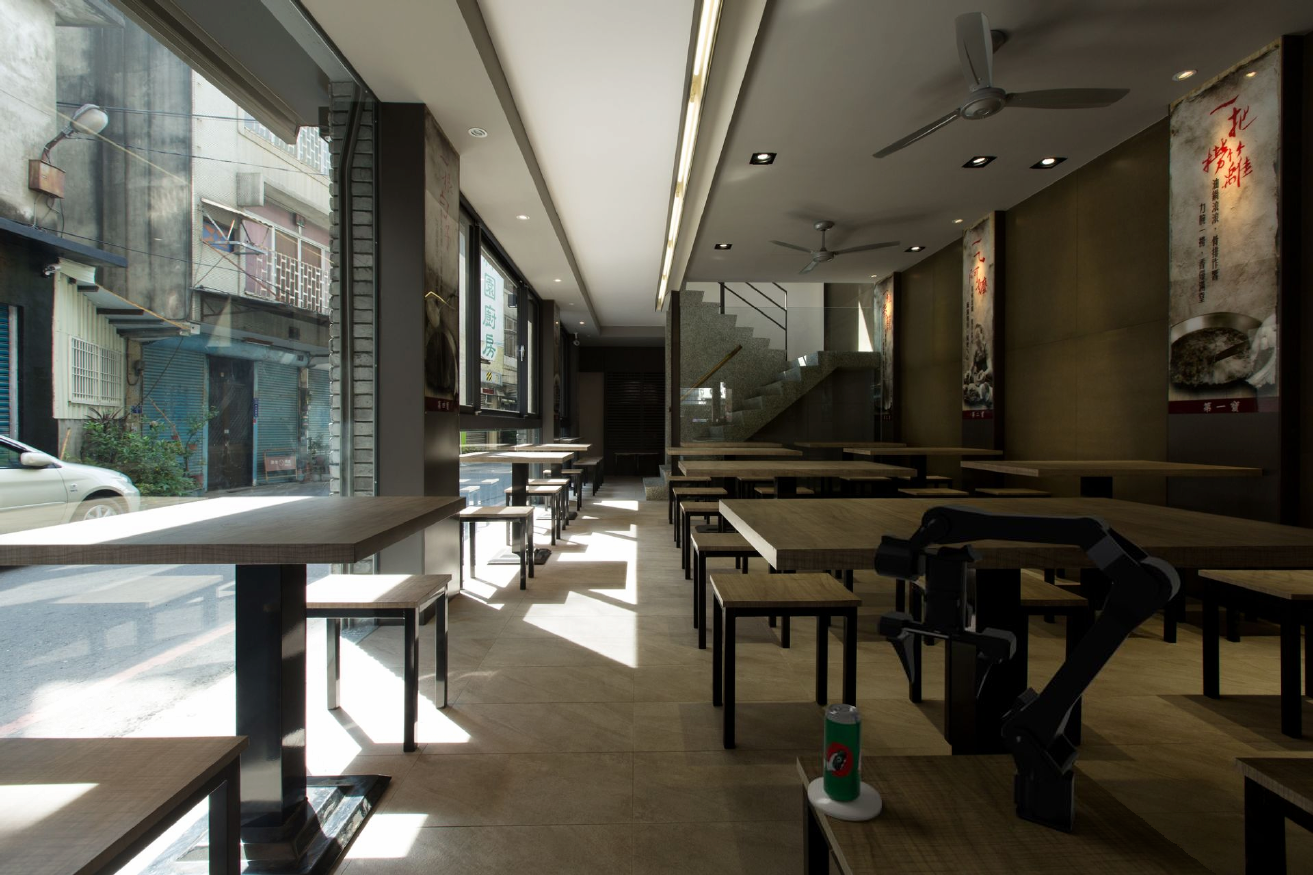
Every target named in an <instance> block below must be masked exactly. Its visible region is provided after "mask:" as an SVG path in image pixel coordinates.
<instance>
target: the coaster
mask: <svg viewBox="0 0 1313 875" xmlns="http://www.w3.org/2000/svg"><path fill="white" fill-rule="evenodd" d="M807 798H808V800H809V802H810V804H811V805H812V806H813V807H814V808H815V809H816V810H818V811H819V812H821V813H823V814H825V815H827V816H829V817H832V818H835V819H839V820H843V821H851V822H862V821H869V820H871V819H874V818H876V817H877V816H878V815H880V813H881V812H882V807H883V805H882V803H883V800H882V797H881V795H880V793H879V792H878V791H877V789H875V788H874V787H873V786H871V785H869V784H868V783H867V782H864V781H861V787H860V796H859V797H858V798H857V799H856V800H854V801H852V802H840V801H836V800H834V799H832V798H830V797H829V796H828V795H827V794H826V792H825V791H824V789H823V776H822V777H817V778H816V779H814V780H812V781H811V782H810V784H808V787H807Z"/></svg>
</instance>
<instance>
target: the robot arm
mask: <svg viewBox="0 0 1313 875" xmlns="http://www.w3.org/2000/svg"><path fill="white" fill-rule="evenodd" d="M920 523H921V524H920V526H919V527H918V528H917V530H916V531H915V532H914V533H913V535H911V536H910V537H902V536H899V535H896V534H889V533H887V534H882V535H881V540H880V543H879V545H878V547H877V549H876V551H875V555H874V556H873V566H874V571H875V573H876V574H877V575H878V577H879V576H880V577H884V578H885V577H886V578H890V579H896V580H901V581H906V582H912V583H916V582H917V581H919V579H920V577H924V576H925V577H924V578H925V579H924V594H922V595H923V612H924V614H923V615H924V616H923V618H924V619H923V621H922V622H921V621H915V620H914V617H913V615H912V613H908V612H907V613H906V612H901V611H896V610H889V611H887V612H886V613H885V614H882V616H879V618H877V619H878V620H877V623H876V624H877V626H876V634H877V635H879V636H884V637H885V642H887V643H890V644H891V645H892V648H894V649H893V650H894V651H895V652H896V654H897V656H898V659H899V661H900V662H901V666H902V668H903V670H904V673H905V674H906V677H907V680H908V682H909V683H910V684H913V683H914V682H915V656H914V655H915V654H914V641H915V640H914V639H915V635H918V636H924V637H928V638H929V637H930V638H934V639H940V640H945V641H950V642H955V643H960V644H965V645H972V646H977V647H978V650H979V652H980V653H979V654H978V655H977V656H976V660H975V661H976V662H975V670H974V679H973V690H972V691H973V698H974V699H978V698H979V695H980V692H981V690H982V688H983V686H984V682H985V680H986V678H987V675H988V673H989V671H990V670H991V669H990V668H991V666H992V665H993V664H994V665H999V664H1001V662H1003V660H1004V661H1010V660H1011V659H1012V657H1013V655H1014V654H1015V653H1016V651H1017V637H1016V635H1015V634H1014V633H1013V632H1012V631H1011V630H1010V631H1009V630H1003V629H998V628H993V627H986V628H984V630H982V632H976V631H971V630H966V629H968V628H970V627H972V621H973V620H972V619H973V609H974V608H973V605H971V604H969V602H968V601H967V599H968V597H967V569H968V568H967V566H968V565H967V564H968V563H971V564H973V563H976V562H979V561H982V560H983V556H982V555H981V554H980V553H979V552H978V551H976V550H975V548H974V547H973V545H972V544H971V542H978V541H988V540H990V541H991V540H992V541H1004V542H1019V543H1020V542H1021V543H1035V544H1047V545H1048V544H1049V545H1050V544H1051V545H1063V546H1064V545H1065V546H1077V547H1079V548H1080V549H1081V550H1082V551H1084V552H1085V554H1086V555H1088V557H1089V558H1090V559H1091V561H1092V562H1093V563H1094V564H1095V565H1096V566H1097V568H1098V569H1099V570H1100V571H1101V572H1102V573H1103V574H1104V575H1105V577H1108V579H1109V580H1111V581H1112V584H1111V586H1110V588H1109V590H1108V593H1107V595H1106V598H1105V600H1104V603H1103V607H1102V609H1101V612H1100V615H1099V616H1098V617H1097V619H1096V620H1095V621H1094V622H1093V624H1092V625H1091V626H1090V628H1089V629H1088V630H1087V632H1086V633H1085V634H1084V636H1083V637H1082V639H1081V640H1080V641H1079V642H1078V643H1077V645H1076V646H1075V648H1074V649H1073V650H1072V651H1071V653H1070V654H1069V655H1068V656H1067V658H1066V659H1065V660H1064V661H1063V663H1062V664H1061V666H1060V667H1059V668H1058V670H1057V671H1056V673H1055V674H1054V675H1053V676H1052V678H1051V679H1050V680H1049V681H1048V683H1047V685H1046V686H1045V687H1044V688H1043V689H1042V690H1041V691H1040V693H1038V692H1037V691H1036V690H1034V688H1033V687H1032V686H1029V687H1028V688H1026V690H1025V691H1023V692H1022V693H1021V694H1020V695H1018V696H1017V697H1016V699H1015V701H1014V702H1013V704H1012V707H1011V709H1010V710H1009V711H1008V712H1006V713H1005V714H1004V715H1003V716H1002V717H1001V718H1000V720H1001V721H1003V722H1005V723H1003V725H1002V727H1001V730H1000V731H1001V732H1000V735H1001V737H1002V740H1003V743H1004V745H1005V746H1006V748H1007V750H1009V752H1010V753H1011V755H1012V758H1013V760H1014V764H1015V766H1016V770H1015V772H1014V775H1013V804H1014V805H1015V807H1016V808H1015V810H1014V811H1015V813H1014V815H1016V816H1017V817H1020V818H1023V819H1026V820H1029V821H1032V822H1035V823H1038V824H1041V825H1045V826H1047V827H1051V828H1054V829H1058V830H1060V831H1063V832H1067V833H1071V832H1072V830H1073V825H1074V824H1073V823H1074V819H1075V815H1076V808H1075V807H1074V801H1075V800H1074V799H1075V798H1074V796H1075V771H1073V770H1071V769H1070V768H1071V767H1073V766H1074V765H1075V762H1076V760H1077V759H1078V757H1079V755H1080V751H1079V750H1078V749H1077V748H1076V747H1075V745H1073V743H1072V742H1071V741H1070V740H1069V738H1068V737H1066V735H1065V734H1064V733H1063V732H1064V730H1065V727H1066V726H1067V724H1068V721H1069V718H1070V715H1071V712H1072V709H1073V707H1074V705H1075V704H1076V703H1077V702H1078V700H1079V699H1080V697H1081V696H1082V695H1083V694H1084V693H1085V691H1086V690H1087V689H1088V687H1089V686H1090V685H1091V683H1092V682H1093V681H1094V680H1095V678H1096V677H1097V676H1098V675H1099V673H1101V672H1102V670H1103V668H1104V667H1105V666H1106V665H1107V663H1108V662H1109V661H1110V660H1111V659H1112V658H1113V655H1115V653H1116V652H1117V651H1118V649H1119V648H1120V647H1121V646H1122V644H1124V642H1125V641H1126V640H1127V638H1128V637H1129V636H1130V635H1131V633H1132V632H1134V630H1136V629H1137V628H1138V627H1140V626H1141V625H1142V624H1143V623H1145V622H1146V621H1147V620H1149V619H1150V618H1151V617H1152V616H1153V615H1154V614H1156V613H1158V611H1160V610H1161V609H1162V608H1163V607H1165V606H1166V604H1168V603H1169V601H1170V600H1172V598H1174V596H1175V595H1177V593H1178V592H1179V589H1180V587H1181V579H1180V576H1179V573H1178V571H1177V570H1176V569H1175V567H1174V566H1172V565H1171V564H1170V563H1168V562H1167V561H1166V560H1164V559H1161V558H1159V557H1154V556H1150V555H1149V554H1148V553H1147V552H1146V551H1145V550H1143V549H1142V548H1141V547H1140V546H1139V545H1137V544H1136V543H1134V541H1131V540H1130V539H1129V538H1127V536H1125V535H1123V534H1122V533H1120V532H1119V531H1117V530H1116V529H1114V527H1112V526H1111V525H1110V524H1109V523H1108V522H1107V521H1106V520H1105V519H1104V518H1103V517H1100V516H1098V515H1093V514H1090V515H1089V514H1088V515H1082V516H1078V515H1077V516H1076V515H1075V516H1073V515H1055V514H1054V515H1052V514H1051V515H1049V514H1048V515H1047V514H1027V513H1026V514H1025V513H1007V512H1006V513H1005V512H1004V513H1002V512H1000V513H999V512H998V513H997V512H992V511H989V510H984V509H981V508H979V507H978V508H977V507H975V506H974V507H973V506H969V505H968V506H967V505H965V504H964V505H963V504H958V503H948V504H947V503H946V504H941V505H936V506H931V507H930V508H929V507H928V509H927V510H926V511H925V512H924V513H923V514H922V517H921V522H920ZM969 542H970V543H969ZM963 543H966V544H965V545H963V546H962V547H953V546H946V545H952V544H953V545H955V544H963ZM967 543H968V544H967ZM937 545H940V546H941V545H942V546H941V547H939V549H938V550H933V549H927V548H928V547H932V546H937Z"/></svg>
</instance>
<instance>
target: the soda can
mask: <svg viewBox="0 0 1313 875" xmlns="http://www.w3.org/2000/svg"><path fill="white" fill-rule="evenodd" d="M823 727H824V729H823V732H824V733H823V774H822V775H823V776H822V777H823V789H824V791H825V792H826V794H827V795H828V796H829V797H830V798H832V799H834V800H836V801H840V802H852V801H854V800H856V799H857V798H858V797H859V796H860V787H861V780H862V779H861V778H862V777H861V776H862V736H863V735H862V733H863V719H862V717H861V715H860V710H859V709H858V708H857V707H855V706H853V705H851V704H847V703H832V704H830V705H828V706H827V710H826V711H825V713H824V726H823Z"/></svg>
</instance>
